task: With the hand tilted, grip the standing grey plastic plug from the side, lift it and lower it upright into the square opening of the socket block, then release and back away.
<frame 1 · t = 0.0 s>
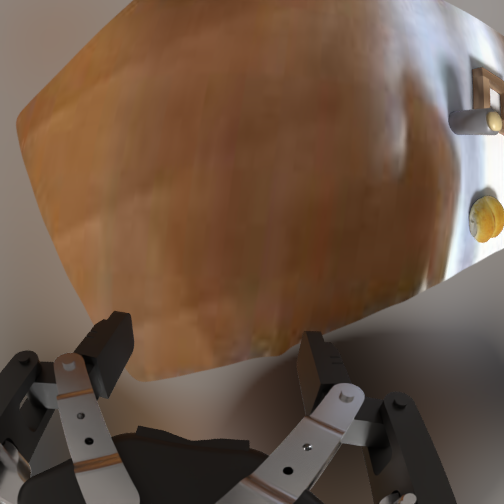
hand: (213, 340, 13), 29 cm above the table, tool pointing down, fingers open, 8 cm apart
socket: (490, 103, 34), on the table
bread roll: (482, 217, 41), on the table
plug: (457, 123, 35), on the table
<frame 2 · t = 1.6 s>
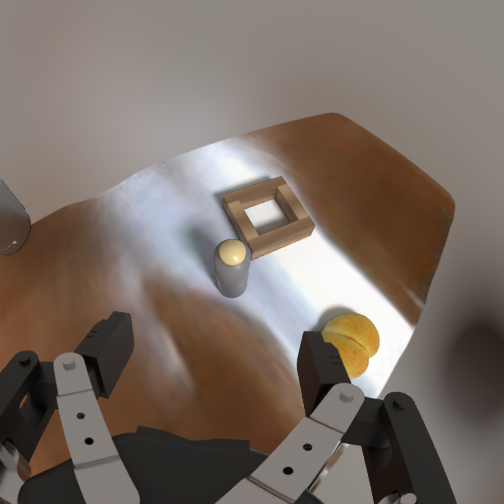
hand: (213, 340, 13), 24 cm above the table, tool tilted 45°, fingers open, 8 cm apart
socket: (266, 220, 45), on the table
bread roll: (344, 347, 37), on the table
plug: (231, 283, 40), on the table
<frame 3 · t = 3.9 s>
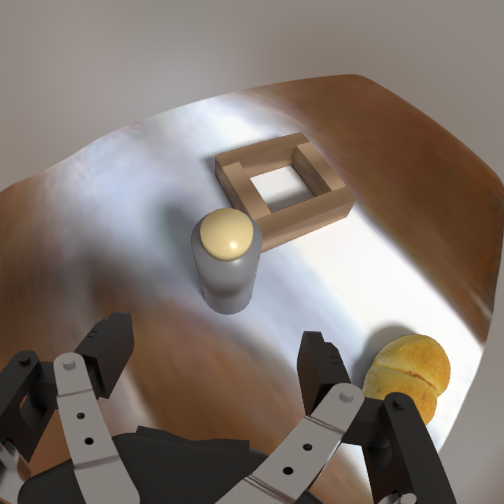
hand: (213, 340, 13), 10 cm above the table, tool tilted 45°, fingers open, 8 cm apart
socket: (280, 194, 29), on the table
bread roll: (400, 386, 22), on the table
plug: (227, 291, 24), on the table
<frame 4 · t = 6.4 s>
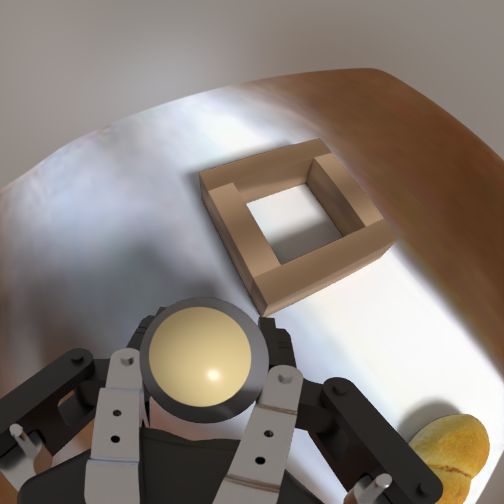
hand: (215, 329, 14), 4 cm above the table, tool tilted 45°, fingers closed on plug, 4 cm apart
socket: (291, 227, 21), on the table
bread roll: (430, 470, 14), on the table
plug: (216, 374, 16), on the table, touching gripper
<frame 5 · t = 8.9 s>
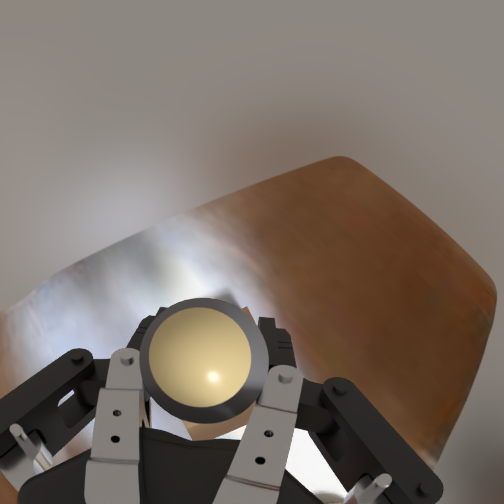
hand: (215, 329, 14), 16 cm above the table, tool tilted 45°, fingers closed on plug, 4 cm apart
socket: (222, 377, 27), on the table
plug: (216, 374, 16), point 12 cm above the table, touching gripper
when the fingers open (6 cm above the table, at t = 11.5 s): plug drops 2 cm, resting in socket.
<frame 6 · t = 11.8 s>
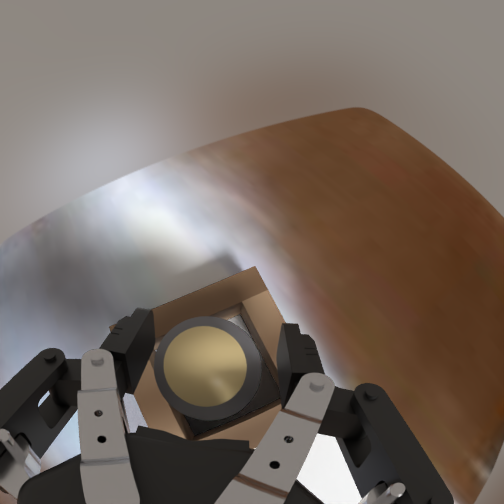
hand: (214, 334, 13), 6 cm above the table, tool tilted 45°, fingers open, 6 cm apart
socket: (217, 375, 18), on the table
plug: (217, 376, 18), resting in socket
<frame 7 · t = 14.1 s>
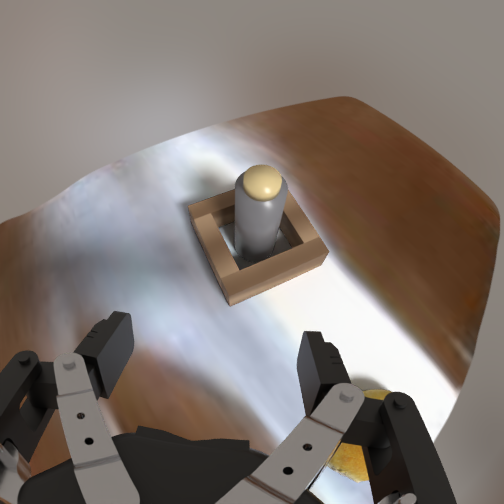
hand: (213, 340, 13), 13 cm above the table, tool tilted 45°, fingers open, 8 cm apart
socket: (254, 243, 30), on the table
bread roll: (360, 435, 22), on the table
plug: (254, 244, 30), resting in socket
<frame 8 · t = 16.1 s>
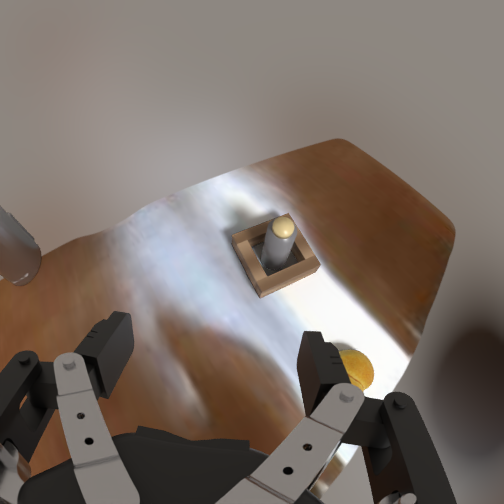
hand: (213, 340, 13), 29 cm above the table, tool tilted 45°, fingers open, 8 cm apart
socket: (273, 258, 47), on the table
bread roll: (341, 380, 39), on the table
plug: (273, 258, 47), resting in socket
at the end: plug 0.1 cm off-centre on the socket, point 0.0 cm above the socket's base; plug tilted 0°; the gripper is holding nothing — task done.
